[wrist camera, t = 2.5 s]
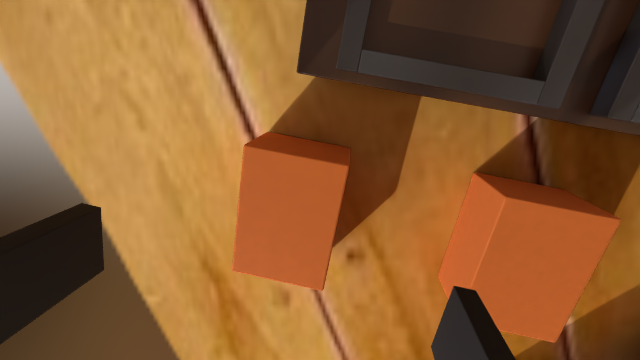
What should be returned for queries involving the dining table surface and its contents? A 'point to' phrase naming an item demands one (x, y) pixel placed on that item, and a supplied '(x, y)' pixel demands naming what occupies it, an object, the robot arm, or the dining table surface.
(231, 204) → the dining table surface
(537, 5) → the dark grey divided tray
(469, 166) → the dining table surface
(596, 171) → the dining table surface
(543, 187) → the pad
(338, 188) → the pad
